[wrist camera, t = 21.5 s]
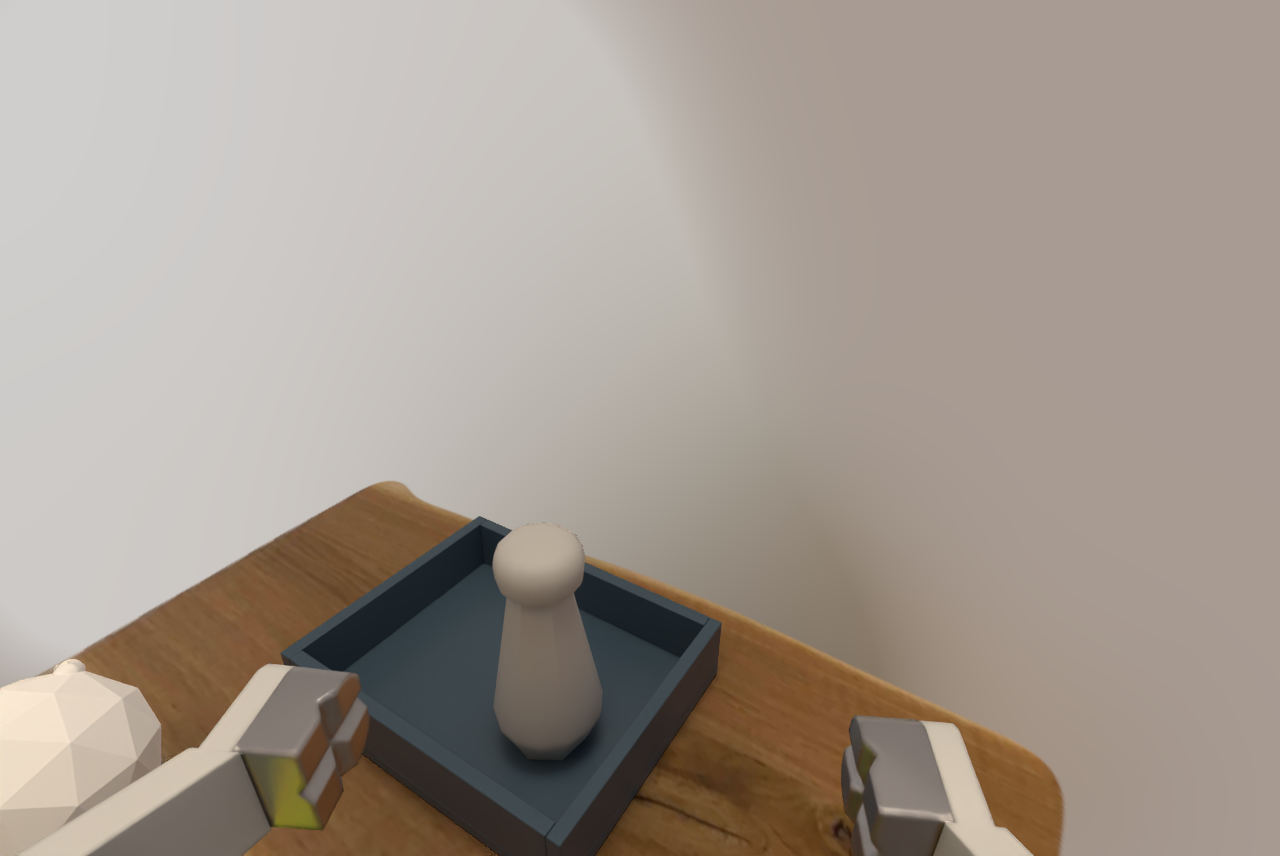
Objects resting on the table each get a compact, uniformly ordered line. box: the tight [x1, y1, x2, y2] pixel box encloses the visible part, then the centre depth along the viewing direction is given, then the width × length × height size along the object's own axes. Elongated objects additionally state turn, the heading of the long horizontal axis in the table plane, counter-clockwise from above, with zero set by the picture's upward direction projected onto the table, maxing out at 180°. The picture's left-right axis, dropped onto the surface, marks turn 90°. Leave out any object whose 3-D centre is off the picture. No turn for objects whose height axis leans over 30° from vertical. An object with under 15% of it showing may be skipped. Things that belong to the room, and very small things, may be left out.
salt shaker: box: [492, 522, 603, 760], centre depth 34 cm, size 6×6×13 cm
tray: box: [281, 516, 722, 856], centre depth 40 cm, size 20×16×4 cm
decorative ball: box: [0, 659, 161, 856], centre depth 31 cm, size 9×10×12 cm
